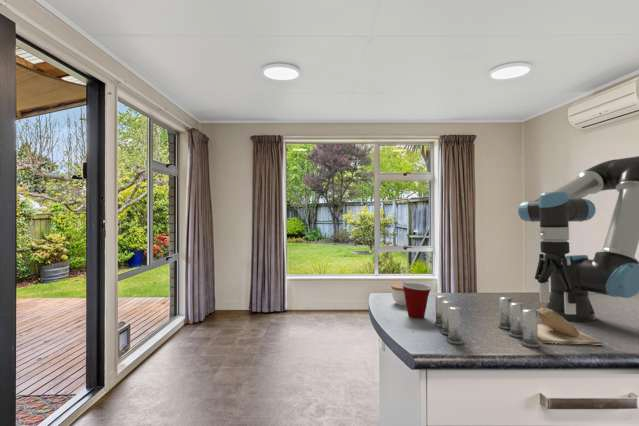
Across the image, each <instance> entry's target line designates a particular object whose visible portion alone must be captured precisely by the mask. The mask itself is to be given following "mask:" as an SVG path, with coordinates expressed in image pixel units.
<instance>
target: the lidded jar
mask: <svg viewBox="0 0 639 426" xmlns="http://www.w3.org/2000/svg"><path fill="white" fill-rule="evenodd" d="M403 283H406V282H405V281H403V282H402V283H395V284H392V285H391V286H390V287H391V295H392V298H393V300H394V302H395V303H396V304H397V305H398V304H399V306H403V305H406V300H405V294H404V289H403V286H402V284H403Z"/></svg>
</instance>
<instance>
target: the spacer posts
mask: <svg viewBox="0 0 639 426" xmlns="http://www.w3.org/2000/svg"><path fill="white" fill-rule="evenodd" d="M512 299H513V298H512V297H509V296H500V297H499V302H498V303H499V323H498V326H497V327H498V328H499V329H501V330H506V331H509V332H508V335H509V337H512V338H515V339H522V340H521V343H520V344H521V345H522V346H524V347H526V348H529V349H539V348H540V343H539V342H538V341H539V340H538V333H537V324H538V312H537V309H532V308H531V309H530V308H524V304H523V303H522V302H515V301H514V302H513V301H512ZM454 304H455V303H454V301H451V300H448V296H446V295H441V294H440V295H435V321H434V327H437V328H441V329H440V330H439V331H440V334H441V335H444V336H447V338H446V343H448V344H449V345H455V346H461V345H463V344H464V340H463V338H462V333H463V332H462V307H458V306H454Z"/></svg>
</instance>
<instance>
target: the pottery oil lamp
mask: <svg viewBox="0 0 639 426" xmlns="http://www.w3.org/2000/svg"><path fill="white" fill-rule="evenodd" d="M536 311H537V316H538V318H540V320H541V323H542V324H543V325H547V326H548V327H550V328H551V329H553V330H557V331H559V332H561V333H563V334H565V335H567V336H570V337H578V335H579V332H578V331H579V330H578V329H577V328H576V327H575V326H573V324H572V323H571V322H569V320H566V319H564V318H563V317H562V316H560V315H559V314H558V313H557V312H555V311H554V310H552V309H551V310H550V309H549V308H546V306H545V307H544V306H543V305H542V306H540V308H537V309H536Z"/></svg>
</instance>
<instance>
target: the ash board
mask: <svg viewBox="0 0 639 426" xmlns="http://www.w3.org/2000/svg"><path fill="white" fill-rule="evenodd" d="M578 332H579V335H578V337H570V336H567V335H565V334H563V333H561V332H559V331H557V330H553V329H551V328H550V327H548V326H547V325H545V324H543V323H542V324H539V323H537V333H538V341H539V342H540V343H542V344H545V343H552V344H551V345H570V344H602V345H603V341H600V340H599V339H598V338H597V339H596V338H594V337H592V336H590V335H588V334H587V333H584V332H583V331H580V330H578ZM553 343H555V344H553ZM558 343H559V344H558Z"/></svg>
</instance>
